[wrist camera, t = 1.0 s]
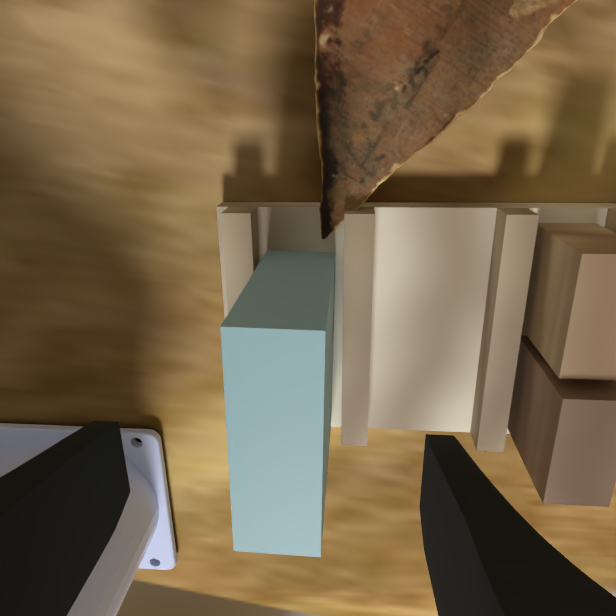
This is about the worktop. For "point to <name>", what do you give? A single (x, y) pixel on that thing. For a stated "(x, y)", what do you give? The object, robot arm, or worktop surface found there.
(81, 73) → the worktop surface
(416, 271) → the birch rack
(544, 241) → the oak offcut
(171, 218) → the worktop surface
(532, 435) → the walnut offcut
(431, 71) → the shard
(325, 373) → the teal panel
